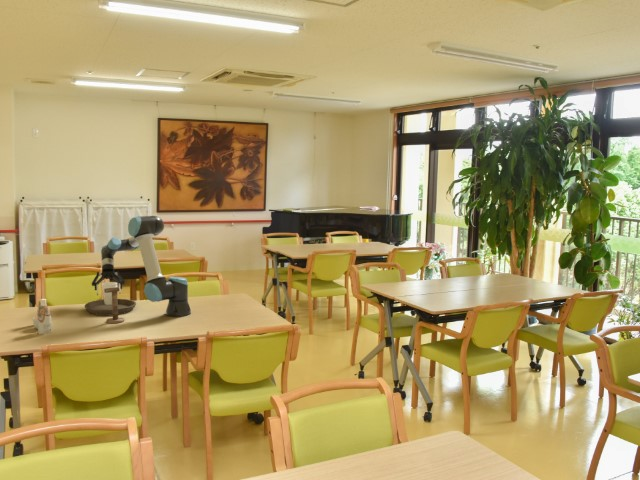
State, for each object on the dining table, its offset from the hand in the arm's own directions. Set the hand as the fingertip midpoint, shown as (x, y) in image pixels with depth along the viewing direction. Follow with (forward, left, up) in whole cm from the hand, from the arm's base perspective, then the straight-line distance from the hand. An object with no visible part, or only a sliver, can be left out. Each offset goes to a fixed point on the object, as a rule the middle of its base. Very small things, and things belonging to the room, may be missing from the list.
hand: (108, 293), depth 376 cm
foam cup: (-3, +1, -6) cm, 7 cm away
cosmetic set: (-23, +46, -10) cm, 52 cm away
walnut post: (-32, +8, -10) cm, 35 cm away
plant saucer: (-4, 0, -10) cm, 11 cm away
